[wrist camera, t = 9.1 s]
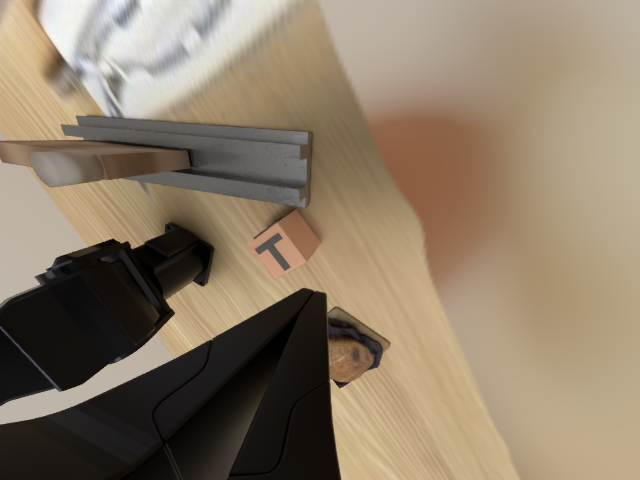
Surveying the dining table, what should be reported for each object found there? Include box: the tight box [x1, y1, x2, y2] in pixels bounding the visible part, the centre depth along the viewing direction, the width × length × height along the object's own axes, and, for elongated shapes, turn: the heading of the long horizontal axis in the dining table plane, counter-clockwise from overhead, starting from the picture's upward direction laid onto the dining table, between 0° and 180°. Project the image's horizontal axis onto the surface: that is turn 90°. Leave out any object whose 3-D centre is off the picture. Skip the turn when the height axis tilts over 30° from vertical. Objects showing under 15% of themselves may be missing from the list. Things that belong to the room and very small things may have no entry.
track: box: [61, 116, 312, 208], centre depth 22 cm, size 26×6×2 cm, turn 86°
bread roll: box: [327, 307, 390, 388], centre depth 26 cm, size 11×8×4 cm
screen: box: [0, 140, 190, 187], centre depth 19 cm, size 12×2×9 cm, turn 86°
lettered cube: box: [247, 209, 321, 280], centre depth 21 cm, size 4×4×4 cm
